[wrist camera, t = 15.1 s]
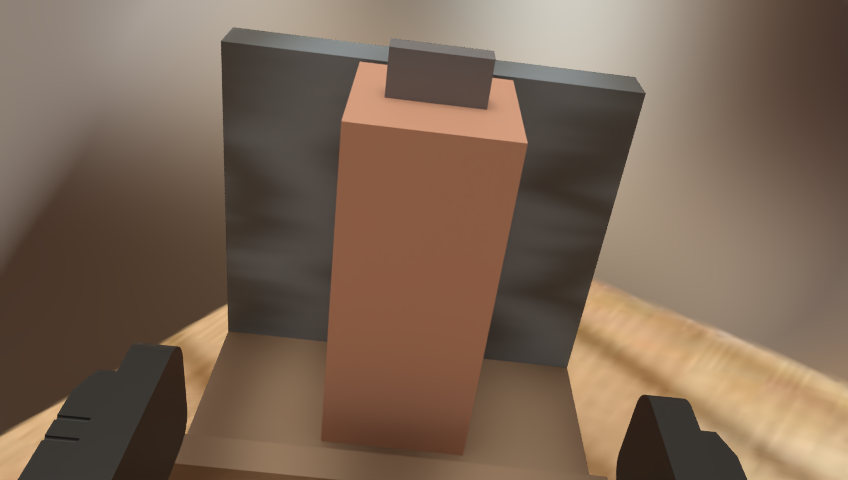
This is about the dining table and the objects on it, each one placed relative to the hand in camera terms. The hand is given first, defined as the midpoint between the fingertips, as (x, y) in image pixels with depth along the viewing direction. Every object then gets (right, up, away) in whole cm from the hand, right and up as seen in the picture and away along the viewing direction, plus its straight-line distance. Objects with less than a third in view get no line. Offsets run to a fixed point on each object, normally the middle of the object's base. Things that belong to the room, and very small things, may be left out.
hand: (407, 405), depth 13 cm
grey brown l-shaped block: (-2, -9, +18) cm, 20 cm away
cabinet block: (-1, -3, +15) cm, 15 cm away
